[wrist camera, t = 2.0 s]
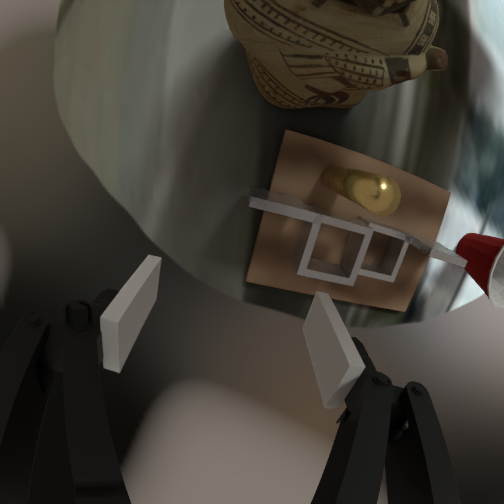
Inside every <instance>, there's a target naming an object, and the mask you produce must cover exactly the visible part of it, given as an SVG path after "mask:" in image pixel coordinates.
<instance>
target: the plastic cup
mask: <svg viewBox="0 0 504 504" xmlns="http://www.w3.org/2000/svg"><path fill="white" fill-rule="evenodd" d="M456 254H458V255H459V256H461V257H462V258H464V259H465V260H467V264H466V266H465V268H464V269H465V270H466V271H467V272H468V274H469V275H470V276H471V277H472V278H473V279H474V281H475V282H476V283H477V284H478V285H479V286H480V287H481V289H482V290H483V291H484V292H485V294H486V295H487V296H488V299H489V300H490V302H491V304H492V305H493V307H494V308H497V309H499V310H501V309H504V239H500V238H496V237H491V236H487V235H480V234H476V233H468V234H466V235H465V236H463V238H462V239H461V240H460V242H459V244H458V247H457V253H456Z"/></svg>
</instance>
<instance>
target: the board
mask: <svg viewBox="0 0 504 504" xmlns="http://www.w3.org/2000/svg"><path fill="white" fill-rule="evenodd" d="M329 165H340V166H344V167H349V168H353V169H358V170H362V171H366V172H370V173H374V174H378V175H382V176H386V177H389V178H392V179H393V180H394V181H396V183H397V184H398V186H399V188H400V191H401V200H400V203H399V206H398V208H397V209H396V210H395V211H394V212H393V213H392V214H390V215H388V216H378V215H376V214H374V213H372V212H371V211H369V210H367V209H365V208H363V207H362V206H360V205H358V204H356V203H354V202H353V201H351V200H349V199H347V198H345V197H343V196H341V195H340V194H338V193H336V192H334V191H332V190H330V189H328V188H327V187H325V185H324V184H323V182H322V172H323V170H324V169H325V168H326V167H327V166H329ZM269 191H272V192H276V193H280V194H284V195H288V196H292V197H296V198H299V199H300V200H301V201H302V202H303V203H304V204H305V205H309V206H313V207H316V208H320V209H323V210H327V211H331V212H334V213H338V214H341V215H344V216H348V217H351V218H355V219H357V218H358V215H360V216H363V217H366V218H369V219H373V220H376V221H379V222H382V223H385V224H388V225H391V226H394V227H397V228H400V229H403V230H406V231H409V232H412V233H415V234H418V235H421V236H424V237H426V238H429V239H432V240H436V237H437V235H438V232H439V229H440V226H441V223H442V220H443V217H444V214H445V211H446V207H447V204H448V201H449V197H450V194H451V193H450V192H448V191H446V190H444V189H442V188H440V187H438V186H436V185H434V184H432V183H430V182H428V181H426V180H424V179H421V178H419V177H417V176H415V175H413V174H410V173H408V172H406V171H403V170H401V169H399V168H396V167H394V166H392V165H389V164H387V163H384V162H382V161H379V160H377V159H374V158H371V157H369V156H366V155H364V154H361V153H358V152H355V151H353V150H350V149H347V148H344V147H341V146H338V145H335V144H332V143H329V142H326V141H323V140H320V139H317V138H314V137H310V136H307V135H304V134H300V133H297V132H293V131H290V130H285V132H284V135H283V139H282V143H281V147H280V151H279V154H278V158H277V162H276V166H275V170H274V173H273V177H272V181H271V185H270V189H269ZM303 221H304V220H301V219H297V218H293V217H289V216H285V215H281V214H277V213H273V212H269V211H265V210H264V211H263V215H262V219H261V223H260V227H259V230H258V234H257V238H256V242H255V246H254V249H253V253H252V257H251V261H250V265H249V268H248V272H247V276H246V282H251V283H256V284H261V285H265V286H270V287H275V288H280V289H285V290H290V291H295V292H300V293H305V294H310V295H315V294H316V291H319V292H324V293H328V294H329V296H330V298H331V299H336V300H342V301H347V302H352V303H358V304H363V305H369V306H375V307H380V308H386V309H392V310H398V311H404V312H405V311H406V309H407V307H408V304H409V302H410V300H411V298H412V296H413V294H414V292H415V289H416V287H417V285H418V283H419V280H420V278H421V276H422V273H423V271H424V268H425V266H426V264H427V261H428V259H429V256H428V255H426V254H425V253H424V252H422V251H421V250H419V249H418V248H416V247H415V246H413V245H412V244H410V243H409V245H408V248H407V250H406V253H405V255H404V258H403V261H402V263H401V266H400V268H399V271H398V273H397V275H396V278H395V280H394V282H389V281H385V280H380V279H376V278H371V277H367V276H363V275H357V277H356V280H355V282H354V285H353V286H349V285H344V284H340V283H335V282H330V281H325V280H321V279H316V278H311V277H307V276H302V275H297V274H296V271H295V269H294V266H293V264H292V261H291V260H292V257H293V254H294V250H295V247H296V244H297V241H298V237H299V234H300V231H301V227H302V224H303ZM350 232H351V231H350V230H346V229H342V228H339V227H335V226H331V225H328V224H324V223H321V225H320V229H319V232H318V235H317V238H316V241H315V244H314V247H313V251H312V254H311V257H310V258H312V259H316V260H321V261H325V262H329V263H334V264H338V265H339V264H340V261H341V258H342V255H343V253H344V250H345V247H346V244H347V241H348V238H349V235H350ZM389 239H390V236H389V235H386V234H383V233H380V232H376V231H373V234H372V237H371V240H370V243H369V246H368V248H367V251H366V254H365V256H364V259H363V261H367V262H371V263H375V264H379V265H380V263H381V260H382V258H383V255H384V252H385V250H386V247H387V244H388V242H389Z"/></svg>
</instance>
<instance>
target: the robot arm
mask: <svg viewBox="0 0 504 504" xmlns="http://www.w3.org/2000/svg"><path fill="white" fill-rule="evenodd" d="M160 264H161V257H157V256H152V255H148V256H147V258H146V259H145V260H144V261H143V263H142V264H141V265H140V266H139V267H138V269H137V270H136V271H135V272H134V274H133V275H132V276H131V277H130V279H129V280H128V281H127V283H126V284H125V285H124V286H123V288H122V289H121V290H120V291H117V290H113V289H107V290H105V291H103V292H101V293H100V294H99V296H98V297H97V298H96V299H95V300H94V301H93V303H92V304H91V303H90V302H88V301H85V300H72V301H69V302H67V303H66V304H65V305H64V307H63V315H64V323H65V325H57V324H49V321H48V318H47V316H46V315H44V314H43V313H40V312H29V313H27V314H25V315H24V316H23V317H22V318H21V320H20V321H19V322H18V324H17V326H16V327H15V329H14V331H13V333H12V334H11V336H10V338H9V340H8V341H7V343H6V345H5V347H4V349H3V350H2V352H1V354H0V504H28V497H29V489H30V481H31V474H32V467H33V462H34V456H35V451H36V446H37V441H38V437H39V432H40V428H41V424H42V419H43V415H44V412H45V408H46V405H47V401H48V397H49V394H50V391H51V387H52V384H53V381H54V378H55V375H56V372H57V371H59V372H63V375H64V376H63V381H64V406H65V420H66V430H67V440H68V447H69V454H70V461H71V467H72V473H73V478H74V483H75V491H74V499H75V504H131V502H130V499H129V496H128V493H127V490H126V487H125V484H124V481H123V478H122V474H121V471H120V467H119V464H118V460H117V456H116V453H115V449H114V445H113V441H112V437H111V432H110V427H109V422H108V418H107V412H106V407H105V401H104V396H103V389H102V383H101V376H100V368H99V365H100V363H101V361H102V360H103V365H104V368H106V369H109V370H112V371H115V372H118V373H120V371H121V369H122V367H123V365H124V363H125V361H126V359H127V356H128V354H129V352H130V350H131V348H132V346H133V344H134V342H135V340H136V338H137V336H138V334H139V332H140V330H141V328H142V326H143V324H144V322H145V320H146V318H147V316H148V315H149V313H150V311H151V309H152V307H153V305H154V303H155V301H156V299H157V291H158V282H159V273H160ZM302 330H303V334H304V338H305V340H306V344H307V348H308V351H309V355H310V358H311V361H312V365H313V369H314V372H315V376H316V379H317V383H318V387H319V390H320V394H321V398H322V401H323V404H324V408H331V409H339V408H340V407H341V405H342V404H343V402H344V401H345V403H346V406H347V408H346V409H345V411H344V412H343V413H342V415H341V416H340V418H339V419H338V420H337V422H336V423H339V422H340V425H339V428H338V431H337V434H336V437H335V440H334V444H333V446H332V450H331V452H330V455H329V458H328V461H327V464H326V466H325V469H324V472H323V474H322V477H321V480H320V482H319V485H318V487H317V490H316V493H315V495H314V497H313V500H312V502H311V504H377V500H378V496H379V491H380V486H381V480H382V475H383V469H384V463H385V473H386V483H387V496H388V504H461V501H460V496H459V492H458V487H457V483H456V479H455V475H454V471H453V467H452V463H451V460H450V456H449V453H448V449H447V446H446V443H445V439H444V436H443V433H442V430H441V427H440V424H439V421H438V418H437V415H436V412H435V409H434V406H433V404H432V401H431V398H430V395H429V393H428V391H427V389H426V388H425V387H424V386H423V385H422V384H420V383H418V382H409V383H408V384H407V385H406V386H405V388H401V387H397V386H394V385H392V381H391V380H390V378H389V377H388V376H386V375H385V374H383V373H381V372H377V371H376V369H375V367H374V365H373V363H372V361H371V359H370V357H368V353H367V352H366V350H365V348H364V346H363V344H362V343H361V342H360V341H359V340H358V339H357V338H355V337H350V335H349V333H348V331H347V329H346V327H345V325H344V323H343V321H342V319H341V317H340V315H339V313H338V311H337V309H336V307H335V306H334V304H333V302H332V300H331V298H330V296H329V294H328V293H324V292H319V291H316V294H315V296H314V299H313V302H312V304H311V307H310V309H309V312H308V315H307V317H306V320H305V322H304V325H303V327H302ZM407 423H408V425H409V426H408V429H407V426H406V424H407Z"/></svg>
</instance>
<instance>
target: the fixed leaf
mask: <svg viewBox="0 0 504 504" xmlns="http://www.w3.org/2000/svg"><path fill="white" fill-rule="evenodd" d="M357 219H358V220H361V221H363V222H364V223H365V224H367V225H368V226H370V227H371V228H373V229H374V231H376V232H380V233H383V234H386V235H389V236H390V239H389V242H388V244H387V247H386V250H385V252H384V255H383V258H382V260H381V263H380V265H379V264H375V263H371V262H367V261H363V262H362V264H361V267H360V270H359V272H358V275H363V276H367V277H371V278H376V279H380V280H385V281H389V282H394V280H395V278H396V275H397V273H398V271H399V268H400V266H401V263H402V261H403V258H404V255H405V253H406V250H407V248H408V245H409V243H410V244H412V245H413V246H415V247H416V248H418V249H419V250H421V251H422V252H424V253H425V254H426V255H428V256H430V257H433V258H436V259H439V260H442V261H445V262H448V263H451V264H454V265H457V266H460V267H463V268H465V266H466V264H467V260H465V259H464V258H462V257H461V256H459V255H458V254H456V253H454V252H453V251H451V250H450V249H448V248H446V247H445V246H443V245H442V244H440V243H438V242H437V241H435V240H432V239H429V238H426V237H424V236H421V235H418V234H415V233H412V232H409V231H406V230H403V229H400V228H397V227H394V226H391V225H388V224H385V223H382V222H379V221H376V220H373V219H369V218H366V217H363V216H360V215H358V218H357Z"/></svg>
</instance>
